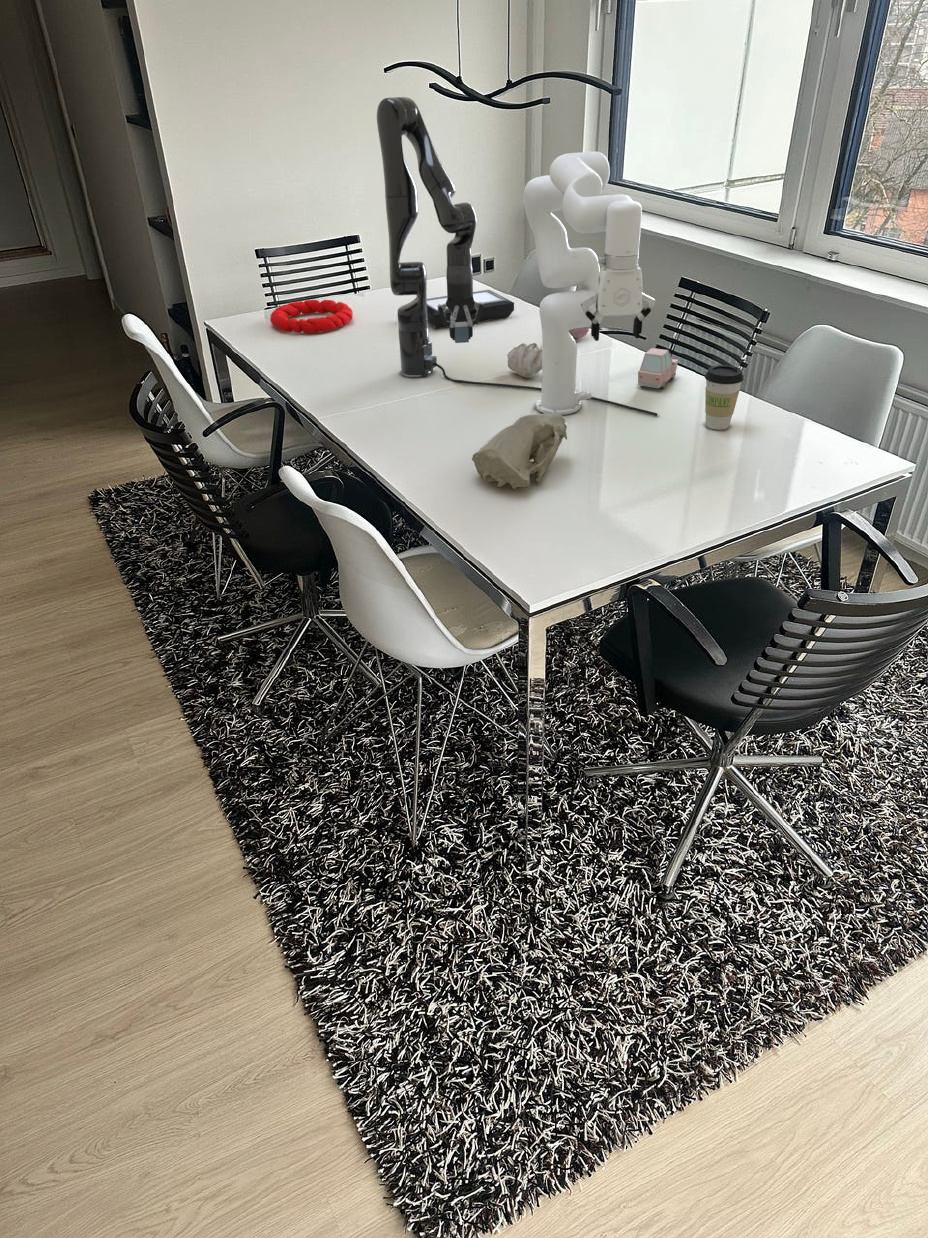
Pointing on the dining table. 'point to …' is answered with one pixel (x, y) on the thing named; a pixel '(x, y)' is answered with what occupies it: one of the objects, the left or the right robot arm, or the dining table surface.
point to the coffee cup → (721, 395)
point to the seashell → (525, 360)
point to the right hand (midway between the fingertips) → (615, 337)
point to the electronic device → (492, 308)
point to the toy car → (657, 368)
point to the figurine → (578, 332)
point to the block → (461, 332)
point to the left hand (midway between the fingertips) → (461, 338)
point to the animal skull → (521, 450)
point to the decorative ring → (313, 324)
